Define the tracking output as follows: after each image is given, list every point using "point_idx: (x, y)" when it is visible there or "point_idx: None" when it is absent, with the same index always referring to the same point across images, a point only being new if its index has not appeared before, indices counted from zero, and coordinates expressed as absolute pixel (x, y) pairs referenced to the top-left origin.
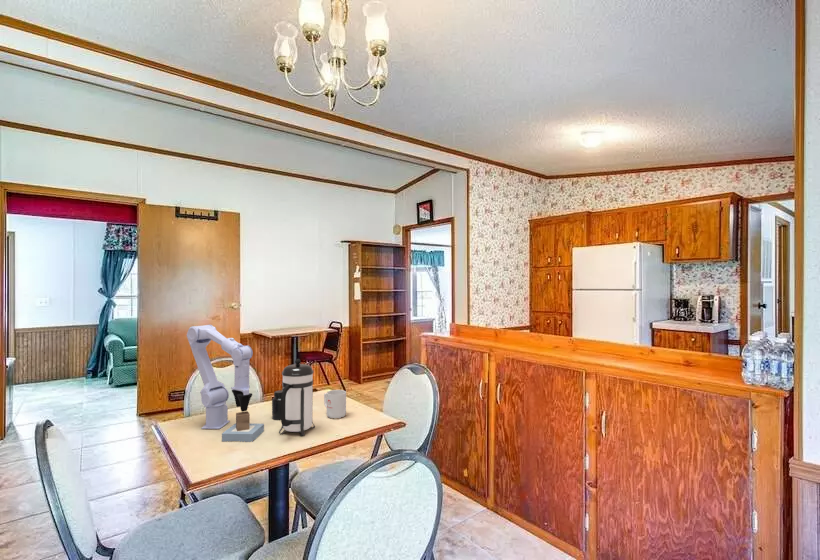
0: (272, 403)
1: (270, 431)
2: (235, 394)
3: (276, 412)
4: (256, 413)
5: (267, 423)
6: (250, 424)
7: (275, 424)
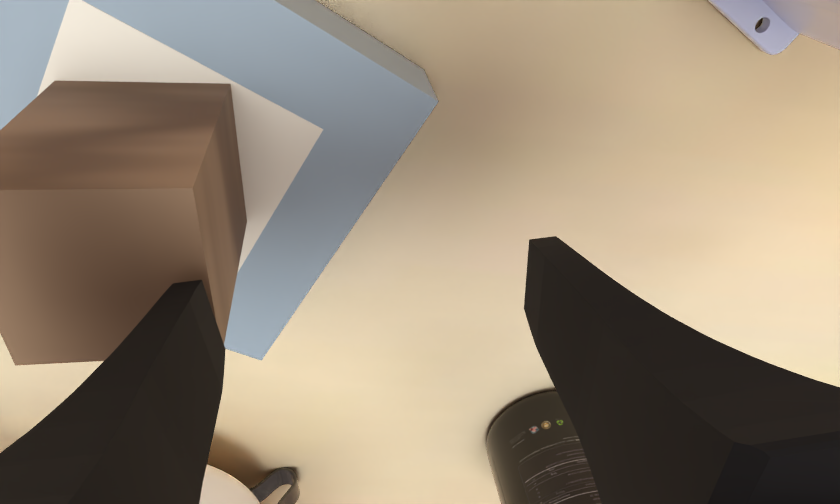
0: None
1: (227, 349)
2: (655, 414)
3: (521, 462)
4: (793, 304)
5: (463, 349)
6: (294, 251)
7: (399, 393)
